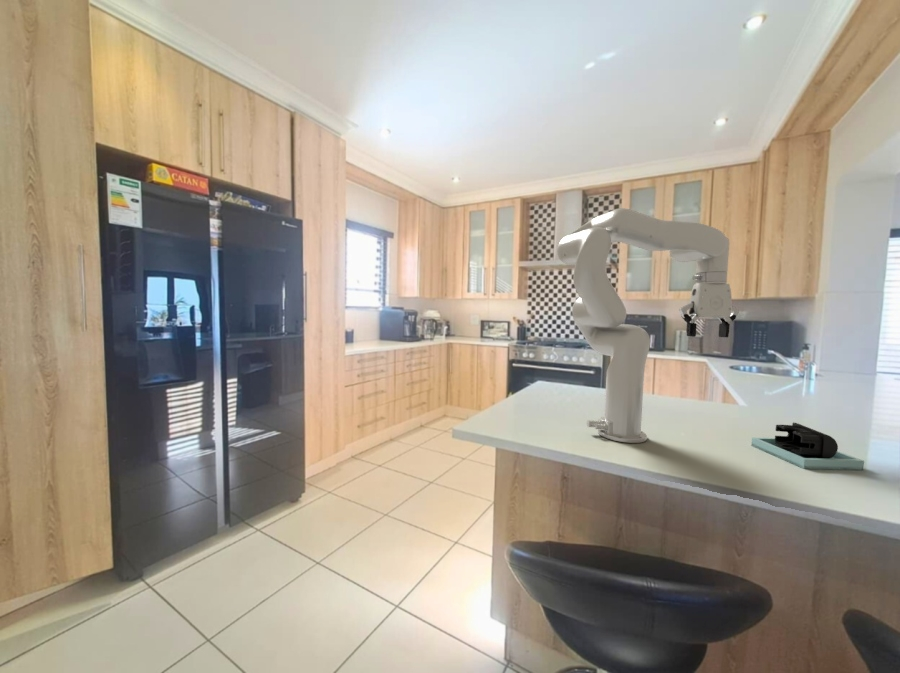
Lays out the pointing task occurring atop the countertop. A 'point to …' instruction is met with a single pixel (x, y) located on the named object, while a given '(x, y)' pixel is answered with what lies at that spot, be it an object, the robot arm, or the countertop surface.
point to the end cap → (806, 442)
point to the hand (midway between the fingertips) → (707, 336)
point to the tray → (836, 462)
